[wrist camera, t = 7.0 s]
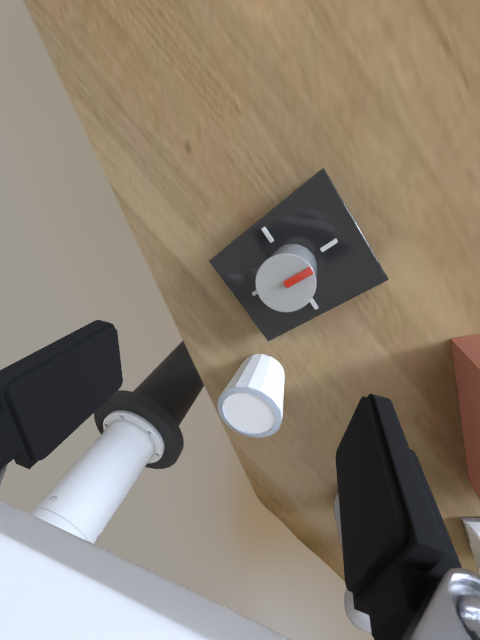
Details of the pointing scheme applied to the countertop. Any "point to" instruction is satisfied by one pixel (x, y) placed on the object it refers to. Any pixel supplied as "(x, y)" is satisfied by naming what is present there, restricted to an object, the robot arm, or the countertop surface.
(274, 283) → the hob knob
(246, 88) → the countertop surface
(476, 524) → the skyscraper
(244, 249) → the hob panel
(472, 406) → the house
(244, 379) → the shot glass
